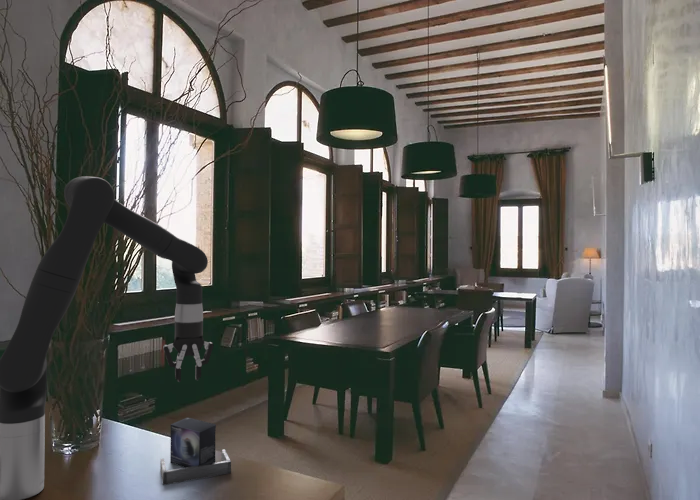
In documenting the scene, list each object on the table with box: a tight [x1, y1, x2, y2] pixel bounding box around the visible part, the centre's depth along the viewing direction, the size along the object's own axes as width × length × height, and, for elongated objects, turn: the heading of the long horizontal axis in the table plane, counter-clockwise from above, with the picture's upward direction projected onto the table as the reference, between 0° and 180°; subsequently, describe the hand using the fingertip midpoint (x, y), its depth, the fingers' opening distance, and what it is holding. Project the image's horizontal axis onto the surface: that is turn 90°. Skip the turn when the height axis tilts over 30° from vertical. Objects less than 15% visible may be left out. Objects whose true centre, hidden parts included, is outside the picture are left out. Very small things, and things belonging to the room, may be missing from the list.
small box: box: [169, 417, 217, 468], centre depth 131 cm, size 11×6×10 cm, turn 62°
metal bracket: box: [159, 448, 232, 486], centre depth 126 cm, size 16×8×3 cm, turn 115°
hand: (188, 380), depth 141 cm, fingers open, 4 cm apart
